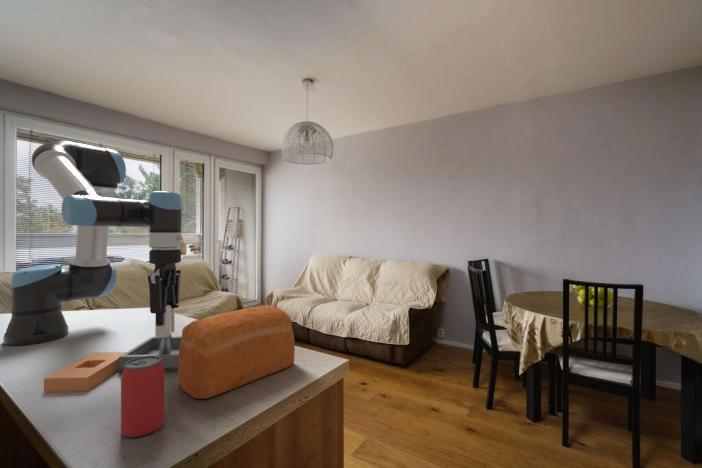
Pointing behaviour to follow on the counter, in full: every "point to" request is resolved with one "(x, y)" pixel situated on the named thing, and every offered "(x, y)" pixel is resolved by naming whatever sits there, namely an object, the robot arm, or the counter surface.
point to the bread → (234, 350)
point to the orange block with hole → (84, 373)
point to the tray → (153, 353)
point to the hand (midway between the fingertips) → (165, 334)
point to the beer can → (142, 396)
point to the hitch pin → (166, 342)
